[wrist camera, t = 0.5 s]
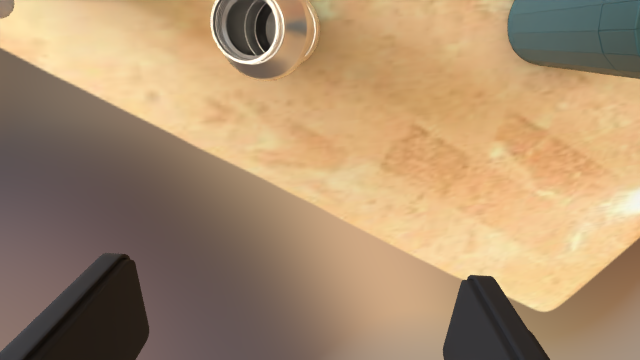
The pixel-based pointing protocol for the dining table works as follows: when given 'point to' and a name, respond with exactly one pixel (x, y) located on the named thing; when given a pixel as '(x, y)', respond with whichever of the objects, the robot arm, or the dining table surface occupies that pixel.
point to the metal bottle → (265, 35)
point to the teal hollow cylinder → (578, 34)
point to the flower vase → (6, 7)
